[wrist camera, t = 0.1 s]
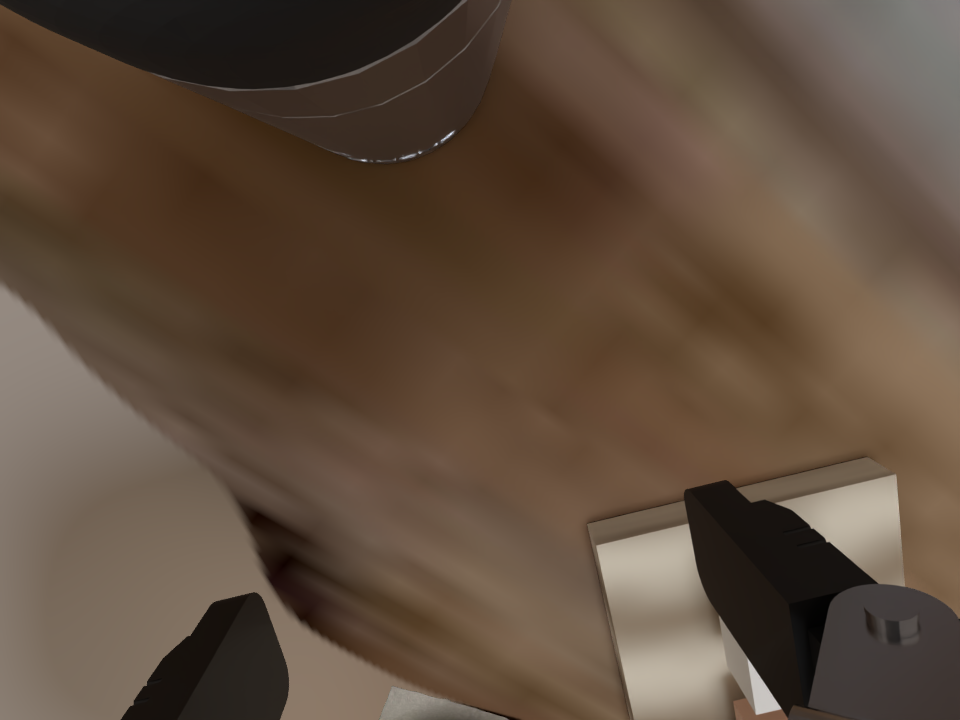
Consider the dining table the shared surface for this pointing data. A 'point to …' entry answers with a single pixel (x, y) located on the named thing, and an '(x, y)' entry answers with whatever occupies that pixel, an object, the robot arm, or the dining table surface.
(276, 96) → the robot arm
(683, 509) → the board
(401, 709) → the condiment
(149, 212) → the dining table surface
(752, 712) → the tile
